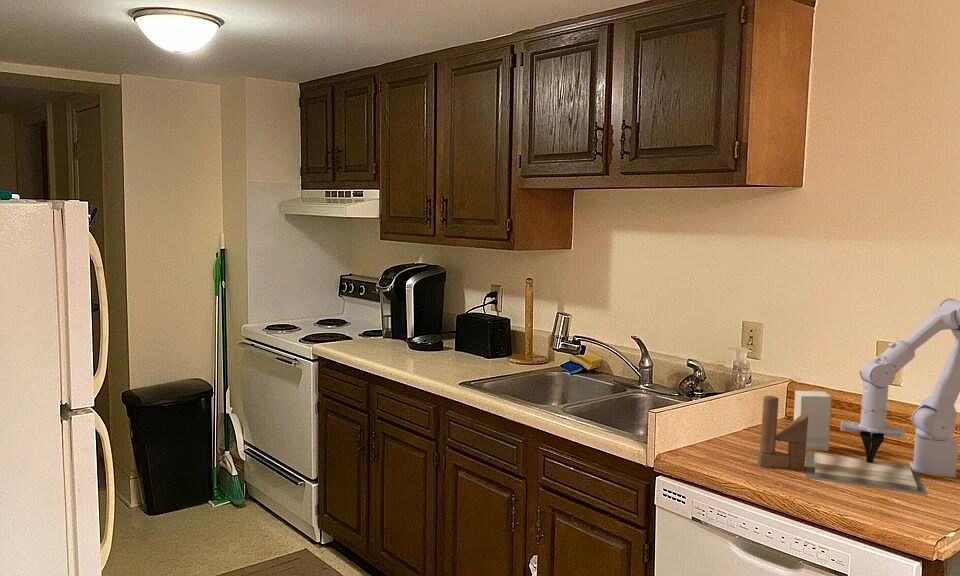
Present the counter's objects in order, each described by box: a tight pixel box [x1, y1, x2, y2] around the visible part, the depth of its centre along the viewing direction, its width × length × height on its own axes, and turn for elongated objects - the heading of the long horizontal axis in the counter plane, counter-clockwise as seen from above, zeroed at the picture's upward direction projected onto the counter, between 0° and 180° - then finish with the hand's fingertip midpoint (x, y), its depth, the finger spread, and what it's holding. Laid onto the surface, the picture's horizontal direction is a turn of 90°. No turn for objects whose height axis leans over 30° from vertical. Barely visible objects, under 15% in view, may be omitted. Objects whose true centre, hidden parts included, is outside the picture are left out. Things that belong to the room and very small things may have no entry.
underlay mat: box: [805, 452, 929, 496], centre depth 197 cm, size 26×22×1 cm
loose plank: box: [814, 452, 913, 476], centre depth 200 cm, size 22×8×1 cm, turn 68°
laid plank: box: [815, 463, 917, 491], centre depth 192 cm, size 22×8×1 cm, turn 68°
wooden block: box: [757, 395, 808, 471], centre depth 200 cm, size 4×11×18 cm, turn 82°
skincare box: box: [793, 390, 833, 452], centre depth 218 cm, size 8×7×16 cm
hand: (869, 461), depth 202 cm, fingers closed, pressing on loose plank
